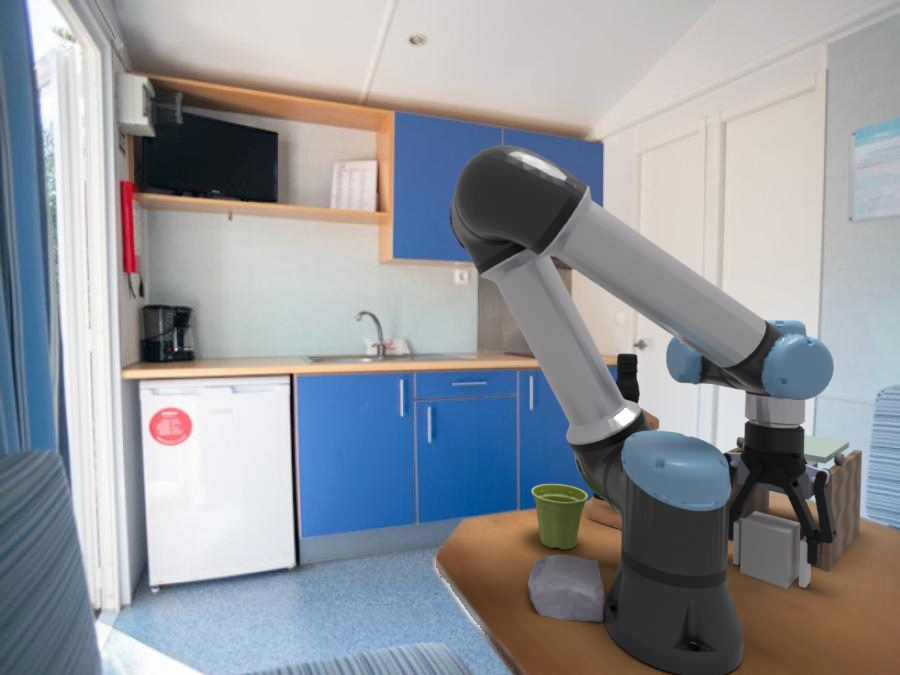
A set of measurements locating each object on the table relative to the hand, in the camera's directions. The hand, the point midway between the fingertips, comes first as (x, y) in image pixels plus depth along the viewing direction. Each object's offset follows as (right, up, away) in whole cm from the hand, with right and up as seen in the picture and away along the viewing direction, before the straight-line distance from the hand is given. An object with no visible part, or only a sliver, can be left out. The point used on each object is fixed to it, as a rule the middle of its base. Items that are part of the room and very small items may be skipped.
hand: (770, 572), depth 74 cm
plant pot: (-30, 0, +10) cm, 32 cm away
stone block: (-33, -1, -6) cm, 33 cm away
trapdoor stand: (+13, 0, +14) cm, 19 cm away
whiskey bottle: (-15, 0, +20) cm, 25 cm away
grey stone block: (0, 0, 0) cm, 0 cm away
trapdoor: (+12, +10, +13) cm, 21 cm away
